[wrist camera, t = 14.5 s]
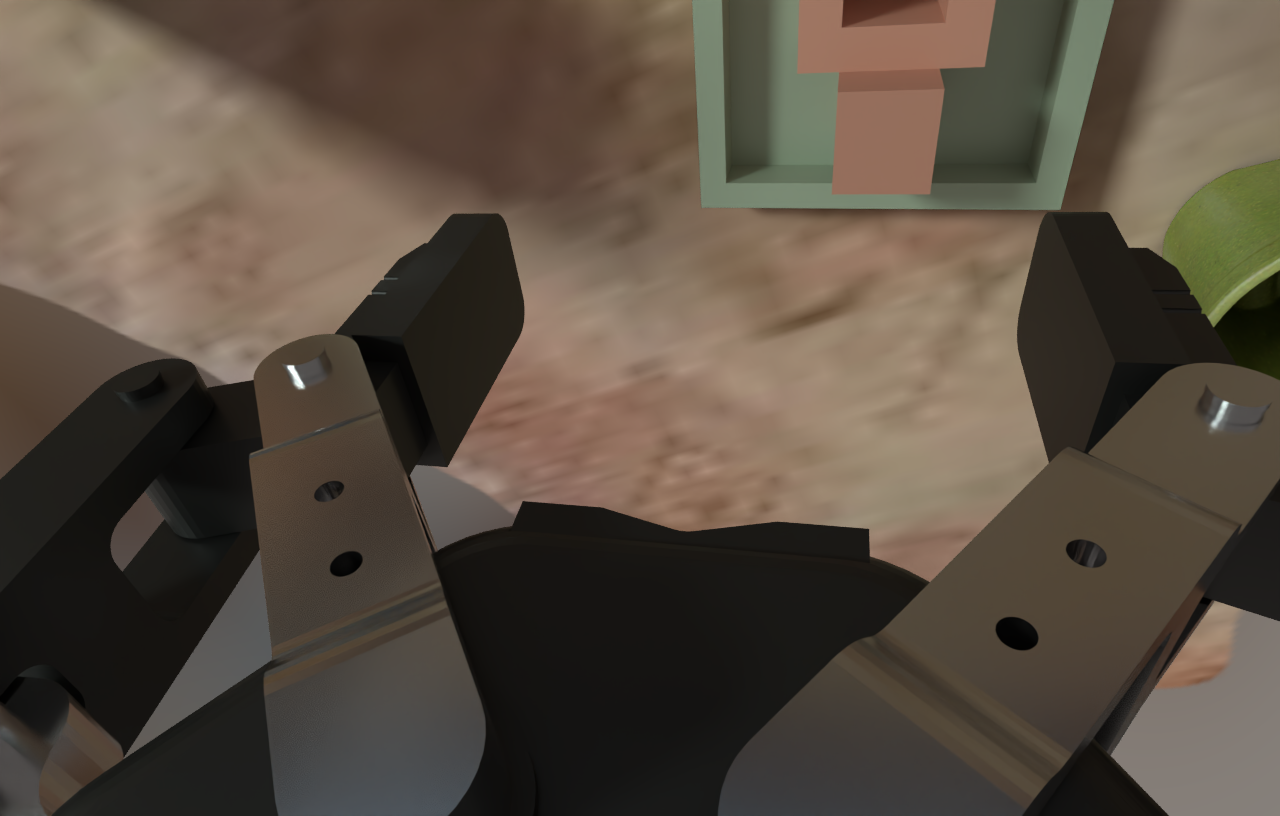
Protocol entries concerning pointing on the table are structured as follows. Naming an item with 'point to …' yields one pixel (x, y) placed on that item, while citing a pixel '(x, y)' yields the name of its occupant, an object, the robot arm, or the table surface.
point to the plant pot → (1235, 261)
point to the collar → (889, 81)
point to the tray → (969, 126)
